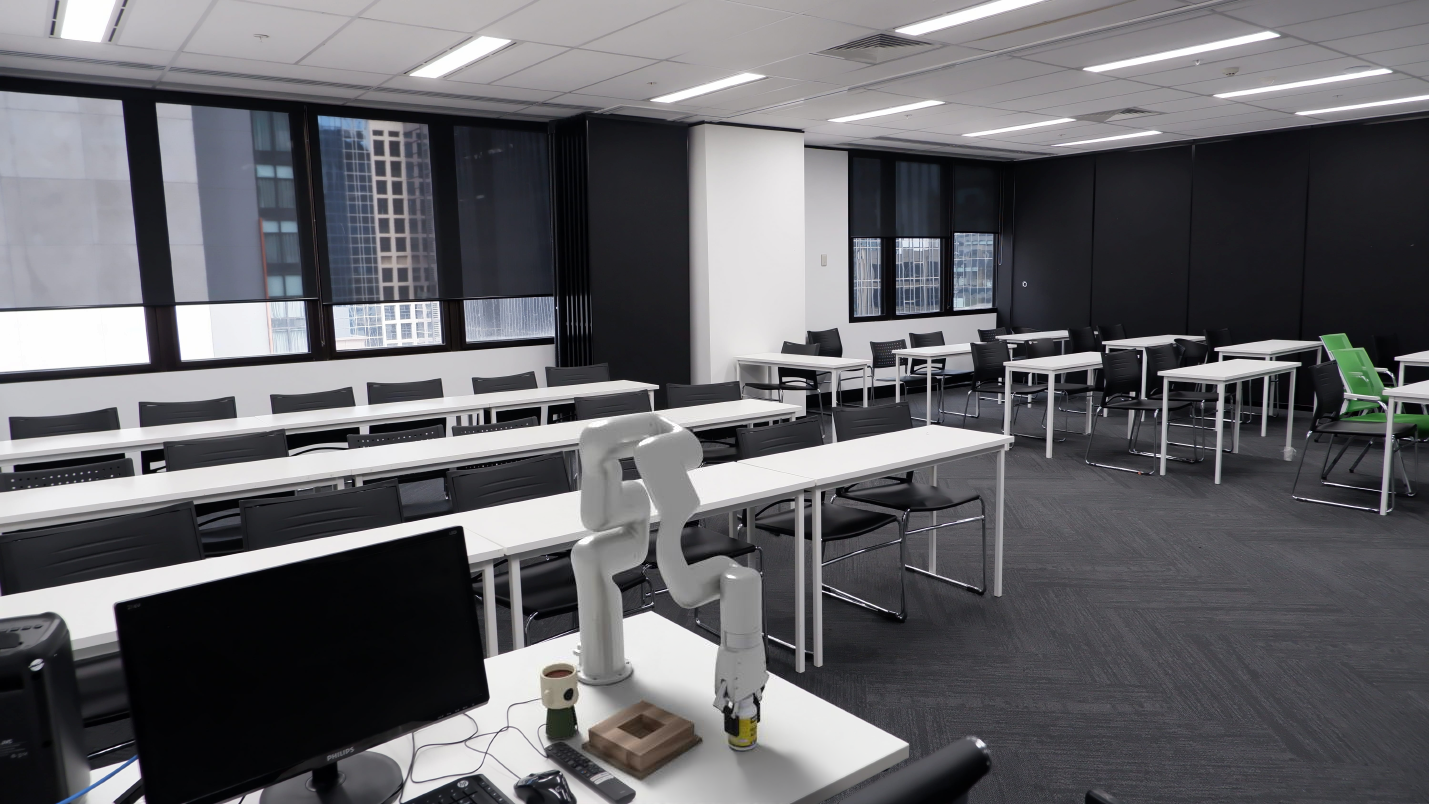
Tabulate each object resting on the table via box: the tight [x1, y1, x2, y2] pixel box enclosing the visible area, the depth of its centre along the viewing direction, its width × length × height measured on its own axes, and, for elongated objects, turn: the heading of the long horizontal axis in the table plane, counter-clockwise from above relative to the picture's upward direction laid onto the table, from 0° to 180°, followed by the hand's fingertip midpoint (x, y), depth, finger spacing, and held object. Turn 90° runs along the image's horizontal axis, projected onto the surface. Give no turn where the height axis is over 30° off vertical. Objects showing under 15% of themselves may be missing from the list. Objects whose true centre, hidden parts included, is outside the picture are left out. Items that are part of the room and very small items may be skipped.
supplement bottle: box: [727, 694, 758, 751], centre depth 160 cm, size 5×5×10 cm
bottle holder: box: [581, 699, 703, 781], centre depth 161 cm, size 16×16×4 cm
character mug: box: [539, 662, 580, 740], centre depth 165 cm, size 11×7×13 cm, turn 163°
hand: (742, 725), depth 160 cm, fingers closed on supplement bottle, 5 cm apart
